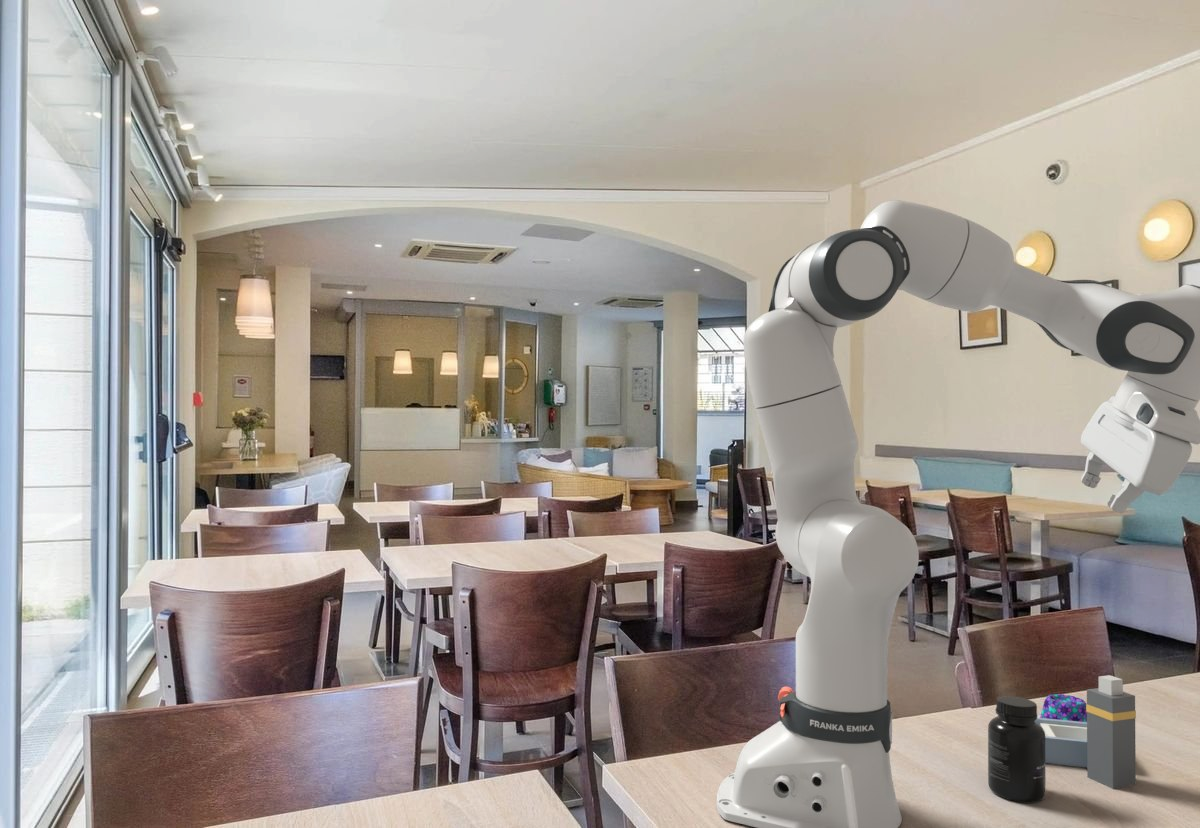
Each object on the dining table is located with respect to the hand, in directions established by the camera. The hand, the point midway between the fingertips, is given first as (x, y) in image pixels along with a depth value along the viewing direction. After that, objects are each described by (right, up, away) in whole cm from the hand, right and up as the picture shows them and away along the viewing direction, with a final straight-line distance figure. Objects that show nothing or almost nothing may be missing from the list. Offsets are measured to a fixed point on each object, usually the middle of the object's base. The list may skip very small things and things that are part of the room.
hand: (1100, 497), depth 116 cm
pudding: (+5, -39, +17) cm, 43 cm away
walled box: (-2, -39, +8) cm, 39 cm away
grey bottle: (0, -38, -2) cm, 39 cm away
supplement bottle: (-15, -39, -6) cm, 42 cm away
